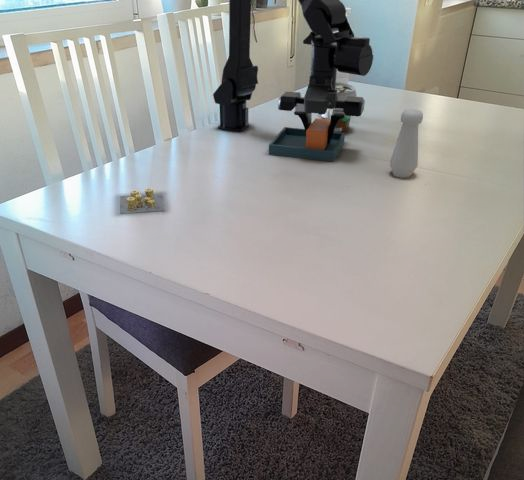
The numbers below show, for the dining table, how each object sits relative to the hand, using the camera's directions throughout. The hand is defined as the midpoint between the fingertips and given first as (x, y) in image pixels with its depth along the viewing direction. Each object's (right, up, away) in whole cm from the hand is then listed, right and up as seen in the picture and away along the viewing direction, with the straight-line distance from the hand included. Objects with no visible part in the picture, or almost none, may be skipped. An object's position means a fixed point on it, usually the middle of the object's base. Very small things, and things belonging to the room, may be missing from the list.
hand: (318, 142), depth 127 cm
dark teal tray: (-2, -1, +2) cm, 3 cm away
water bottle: (+7, +16, +23) cm, 29 cm away
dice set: (-36, -21, -24) cm, 48 cm away
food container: (+7, +8, +13) cm, 17 cm away
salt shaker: (+17, -11, -11) cm, 23 cm away
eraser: (0, -1, +1) cm, 1 cm away
